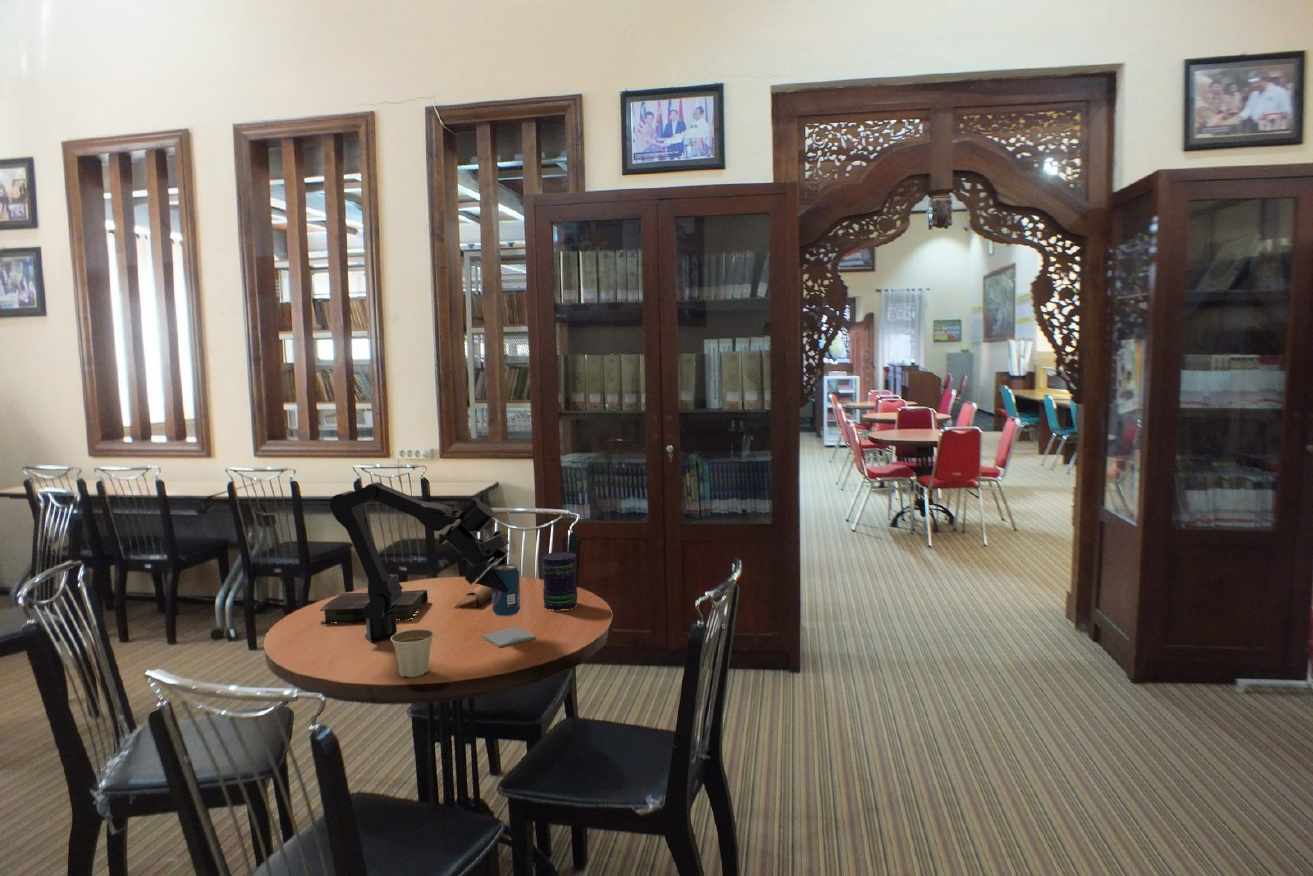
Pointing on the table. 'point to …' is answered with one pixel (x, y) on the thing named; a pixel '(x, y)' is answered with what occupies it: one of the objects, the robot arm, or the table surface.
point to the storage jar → (559, 580)
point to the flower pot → (412, 651)
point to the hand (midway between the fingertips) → (511, 587)
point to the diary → (352, 604)
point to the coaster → (508, 636)
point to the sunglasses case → (475, 598)
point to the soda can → (510, 600)
